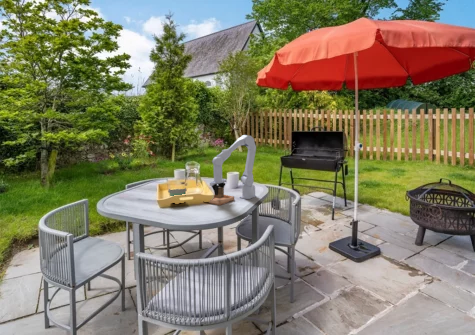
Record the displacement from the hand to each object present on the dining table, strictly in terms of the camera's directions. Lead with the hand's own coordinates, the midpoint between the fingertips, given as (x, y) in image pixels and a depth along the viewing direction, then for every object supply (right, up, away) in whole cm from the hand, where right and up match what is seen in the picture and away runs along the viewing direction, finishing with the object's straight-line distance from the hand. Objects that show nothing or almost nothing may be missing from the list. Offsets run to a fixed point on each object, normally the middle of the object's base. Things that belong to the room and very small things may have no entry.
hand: (218, 194), depth 205 cm
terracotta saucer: (0, -5, +1) cm, 5 cm away
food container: (-27, -6, -3) cm, 28 cm away
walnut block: (0, -2, 0) cm, 2 cm away
